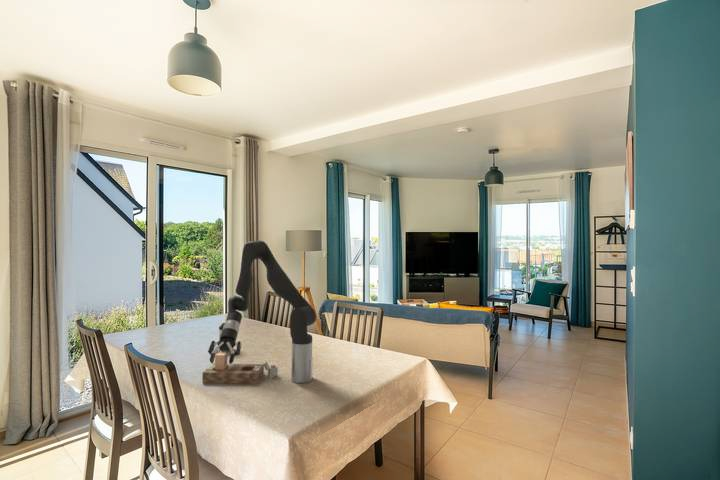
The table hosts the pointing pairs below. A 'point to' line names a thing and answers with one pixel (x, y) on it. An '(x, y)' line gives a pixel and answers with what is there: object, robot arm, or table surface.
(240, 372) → the slot holder
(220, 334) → the coffee cup
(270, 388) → the table surface
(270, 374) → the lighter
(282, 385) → the table surface
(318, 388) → the table surface
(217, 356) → the peg
